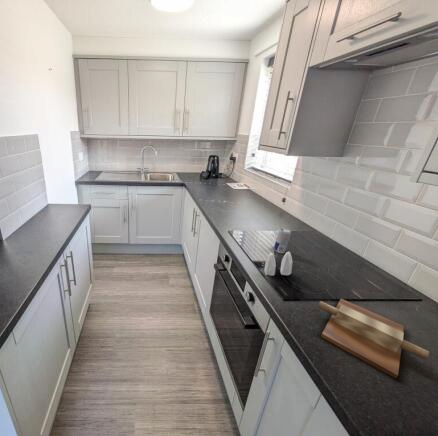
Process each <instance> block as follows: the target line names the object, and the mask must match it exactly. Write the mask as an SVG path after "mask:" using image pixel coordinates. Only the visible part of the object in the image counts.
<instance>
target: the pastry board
mask: <svg viewBox="0 0 438 436" xmlns="http://www.w3.org/2000/svg"><path fill="white" fill-rule="evenodd" d="M341 305H344V306H346V307H348V308H351V309H353V310H355V311H357V312H359V313H362V314H364V315H366V316H368V317H371V318H373V319H375V320H377V321H379V322H382V323H384V324H386V325H388V326H390V327H393V328H395V329H397V330H399V331H401V332H404V331H405V326H404V325H402V324H401V323H398V322H396V321H394V320H391V319H389V318H386V317H385V316H382V315H380V314H378V313H375V312H373V311H371V310H368V309H367V308H364V307H361V306H359V305H357V304H354V303H352V302H350V301H347V300H345V299H343V298H340V299H339V301H338V303H337V304H336V307H335V308H337V309H340V307H341ZM335 317H336V316H334V315H332V314H331V316H330V317H329V319H328V322H327V323H326V325H325V327H324V329H323V331H322V333H321V335H320V337H321V338H322V339H324V340H325V341H328V342H329V343H330V344H333V345H335V346H336V347H338V348H340V349H341V350H344V351H345V352H347V353H349V354H351V355H353V357H356V358H358V359H359V360H362V361H363V362H365V363H367V364H369V365H371V366H372V367H374V368H376V369H378V370H379V371H381V372H383V373H384V374H387V375H388V376H390V377H391V378H394V379H397V378H398V376H399V370H400V364H401V363H400V362H401V356H402V355H401V353H402V348H400V347H399V348H398V350H397V352H396V353H395V352H393V351H391V350H389V349H387V348H385V347H383V346H381V345H379V344H377V343H375V342H373V341H371V340H369V339H367V338H365V337H363V336H362V335H360V334H358V333H356V332H354V331H352V330H350V329H348V328H346V327H344V326H342V325H340V324H338V323H336V322H334V320H335Z"/></svg>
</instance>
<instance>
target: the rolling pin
mask: <svg viewBox="0 0 438 436" xmlns="http://www.w3.org/2000/svg"><path fill="white" fill-rule="evenodd" d="M317 309H320V310H323V311H324V312H327V313H329V314H330V315H331V316H332V315H334V316H336V317H335V320H334V322H336V323H338V324H340V325H342V326H344V327H346V328H348V329H350V330H352V331H354V332H356V333H358V334H360V335H362V336H363V337H365V338H367V339H369V340H371V341H373V342H375V343H377V344H379V345H381V346H383V347H385V348H387V349H389V350H391V351H393V352H395V353H396V352H397V350H398V348H399V347H400V348H401V350H404V351H407V352H408V353H410V354H412V355H414V356H416V357H419V358H421V359H422V360H427V359H428V358H429V356H430V351H429V350H427V349H425V348H422V347H420V346H418V345H416V344H414V343H412V342H410V341H408V340H405V339H404V337H405V332H404V331H403V332H401V331H399V330H397V329H395V328H393V327H390V326H388V325H386V324H384V323H382V322H379V321H377V320H375V319H373V318H371V317H368V316H366V315H364V314H362V313H359V312H357V311H355V310H353V309H351V308H348V307H346V306H344V305H341V307H340V309H337V308H336V307H335V306H333V305H331V304H329V303H327V302H324V301H323V300H320V301H319V303H318V305H317Z"/></svg>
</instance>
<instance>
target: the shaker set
mask: <svg viewBox="0 0 438 436" xmlns="http://www.w3.org/2000/svg"><path fill="white" fill-rule="evenodd" d="M280 262H281V263H280V269H279V273H280V275H281V276H285V277H286V276H290V275H291V274H292V270H293V262H294V261H293V257H292V254H291V251H286V252H285V253H284V256H283V257H282V258H281V261H280ZM276 263H277V262H276V258H275V255H274V253H269V254H268V256H267V258H266V260H265V262H264V270H263V273H264V276H270V277H271V276H275V275H276V269H277V268H276V267H277V264H276Z"/></svg>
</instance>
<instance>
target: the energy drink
mask: <svg viewBox="0 0 438 436" xmlns="http://www.w3.org/2000/svg"><path fill="white" fill-rule="evenodd" d="M291 235H292V231H291V229H288V228H284V227H280V228H279V229H278V231H277V235H276V238H275V242H274V246H273V251H274V252H275V253H278V254H286V252H287V249H288V245H289V241H290V237H291Z"/></svg>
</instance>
